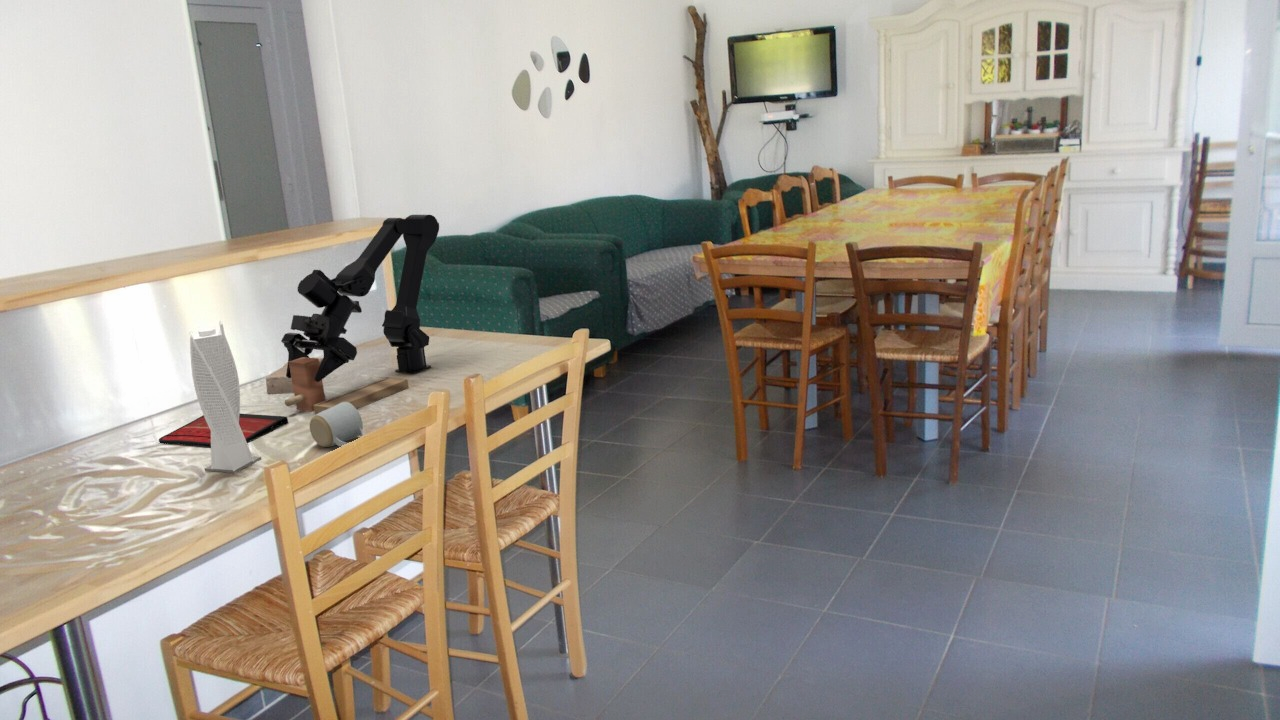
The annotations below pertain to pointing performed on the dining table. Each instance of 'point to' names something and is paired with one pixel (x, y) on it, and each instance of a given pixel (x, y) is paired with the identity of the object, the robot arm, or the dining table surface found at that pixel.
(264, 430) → the binder
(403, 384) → the board
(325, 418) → the ceramic mug
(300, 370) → the wooden block with peg
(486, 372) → the dining table surface
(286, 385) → the brick
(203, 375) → the skyscraper
